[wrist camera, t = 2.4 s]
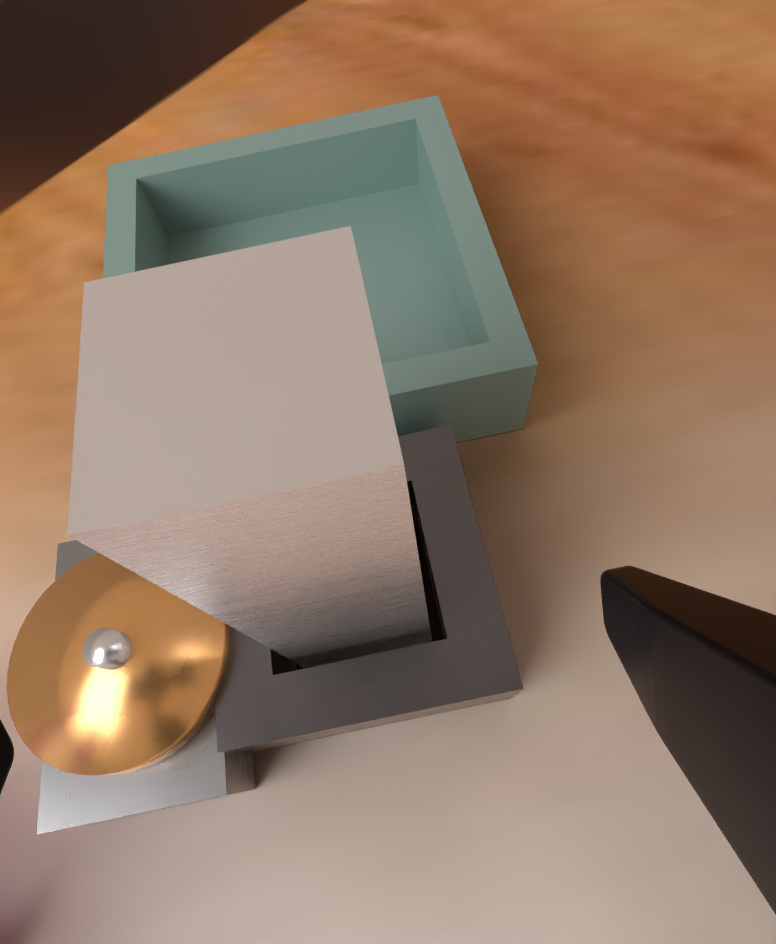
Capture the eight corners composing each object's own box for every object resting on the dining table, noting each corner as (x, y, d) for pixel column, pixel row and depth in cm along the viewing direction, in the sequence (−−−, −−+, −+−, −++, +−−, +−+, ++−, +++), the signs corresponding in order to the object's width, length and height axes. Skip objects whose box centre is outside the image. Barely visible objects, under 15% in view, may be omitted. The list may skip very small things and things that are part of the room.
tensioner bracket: (521, 733, 17) (541, 729, 13) (74, 826, 17) (-32, 848, 13) (450, 466, 21) (451, 404, 17) (88, 543, 21) (9, 498, 17)
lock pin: (432, 644, 18) (404, 464, 7) (309, 670, 18) (67, 534, 7) (407, 528, 20) (351, 226, 8) (295, 552, 20) (84, 281, 8)
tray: (523, 428, 21) (538, 363, 18) (154, 506, 21) (94, 458, 18) (439, 180, 28) (437, 94, 24) (152, 241, 28) (108, 165, 24)
